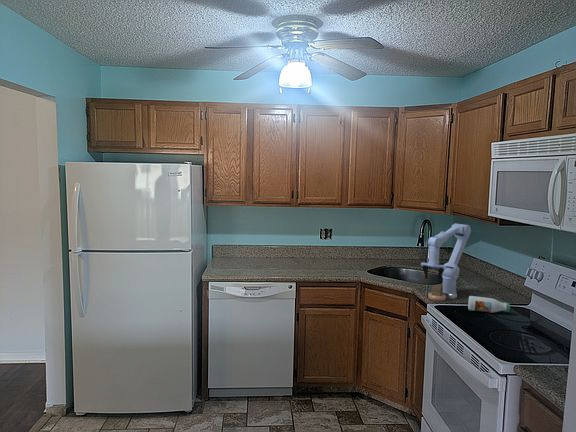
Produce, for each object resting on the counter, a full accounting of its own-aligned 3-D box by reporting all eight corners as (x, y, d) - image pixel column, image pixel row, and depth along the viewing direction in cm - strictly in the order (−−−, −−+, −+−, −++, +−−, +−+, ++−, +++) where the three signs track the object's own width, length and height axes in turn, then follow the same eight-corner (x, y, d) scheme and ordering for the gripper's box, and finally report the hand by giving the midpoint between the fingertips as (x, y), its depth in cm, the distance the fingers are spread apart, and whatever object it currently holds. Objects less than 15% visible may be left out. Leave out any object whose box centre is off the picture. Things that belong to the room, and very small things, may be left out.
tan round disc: (430, 295, 258) (431, 291, 258) (447, 298, 253) (448, 294, 252) (425, 299, 250) (426, 295, 250) (443, 302, 244) (443, 298, 244)
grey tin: (449, 296, 256) (449, 291, 256) (457, 298, 254) (457, 293, 253) (446, 298, 252) (447, 293, 252) (455, 300, 250) (455, 295, 249)
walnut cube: (434, 293, 254) (434, 284, 254) (442, 294, 252) (443, 286, 251) (431, 295, 250) (431, 286, 250) (440, 296, 247) (440, 288, 247)
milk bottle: (469, 294, 230) (510, 298, 223) (468, 297, 236) (507, 301, 230) (469, 308, 227) (510, 313, 221) (467, 311, 234) (507, 315, 228)
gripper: (419, 256, 255) (418, 278, 257) (444, 259, 247) (443, 282, 248) (423, 254, 261) (422, 276, 262) (447, 257, 253) (446, 280, 254)
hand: (432, 279), depth 256 cm, fingers open, 7 cm apart
